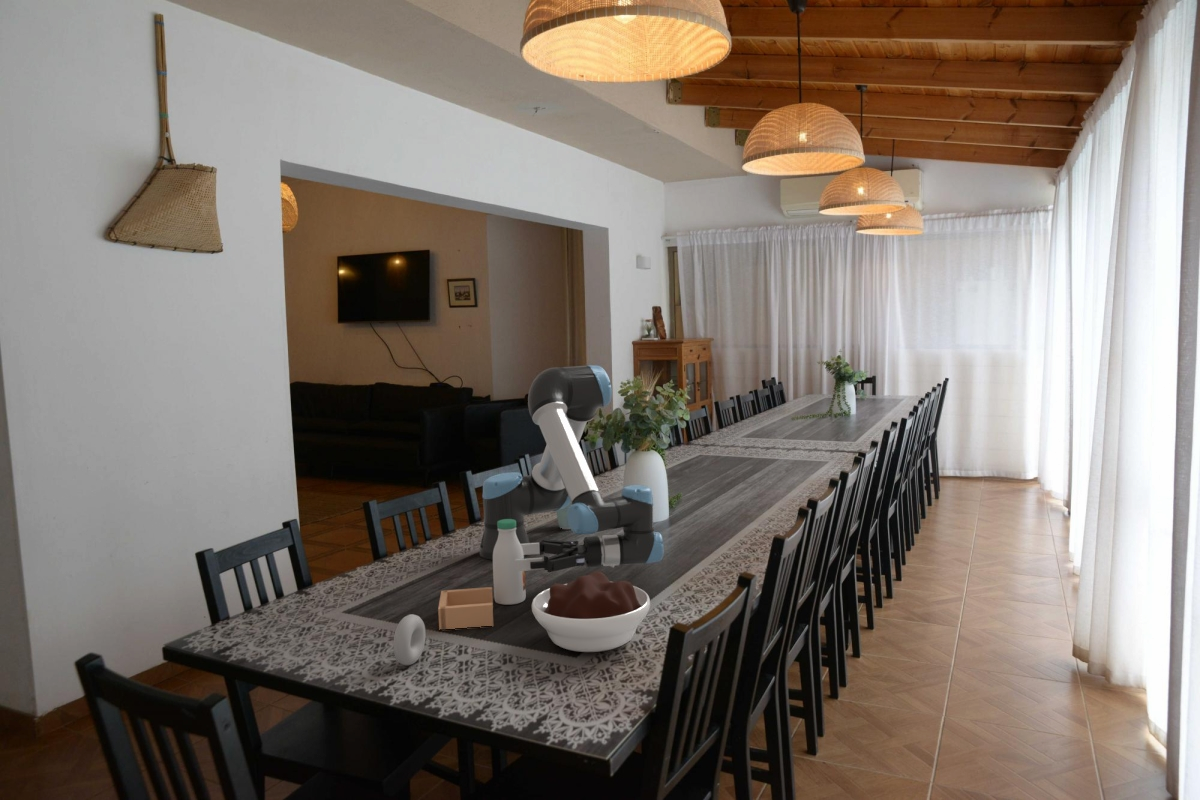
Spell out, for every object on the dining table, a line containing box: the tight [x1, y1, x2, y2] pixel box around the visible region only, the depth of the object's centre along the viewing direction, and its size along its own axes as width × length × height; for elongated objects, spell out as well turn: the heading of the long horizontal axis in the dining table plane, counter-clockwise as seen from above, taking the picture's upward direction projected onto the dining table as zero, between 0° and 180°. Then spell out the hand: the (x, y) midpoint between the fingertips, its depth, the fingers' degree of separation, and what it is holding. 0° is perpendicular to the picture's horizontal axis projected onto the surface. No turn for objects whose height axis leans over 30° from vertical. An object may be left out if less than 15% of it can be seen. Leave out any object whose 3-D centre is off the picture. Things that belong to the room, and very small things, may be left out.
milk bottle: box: [492, 519, 527, 606], centre depth 205 cm, size 8×8×20 cm
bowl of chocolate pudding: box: [531, 570, 651, 653], centre depth 177 cm, size 25×25×15 cm
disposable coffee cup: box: [555, 501, 572, 530], centre depth 277 cm, size 11×11×15 cm
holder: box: [437, 586, 494, 630], centre depth 194 cm, size 12×13×5 cm
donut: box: [392, 613, 427, 666], centre depth 169 cm, size 10×4×10 cm, turn 165°
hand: (514, 557), depth 205 cm, fingers open, 13 cm apart
